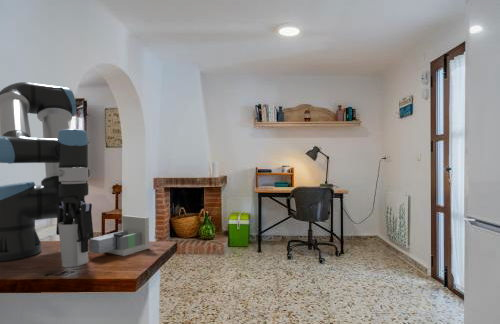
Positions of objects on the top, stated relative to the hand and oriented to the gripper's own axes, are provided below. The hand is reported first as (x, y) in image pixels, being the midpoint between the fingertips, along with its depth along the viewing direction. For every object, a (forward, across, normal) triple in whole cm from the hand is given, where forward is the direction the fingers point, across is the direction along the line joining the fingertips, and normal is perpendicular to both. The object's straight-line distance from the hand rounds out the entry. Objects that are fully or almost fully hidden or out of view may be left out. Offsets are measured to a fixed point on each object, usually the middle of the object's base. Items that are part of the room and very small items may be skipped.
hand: (74, 261), depth 89 cm
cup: (+1, 0, 0) cm, 1 cm away
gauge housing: (+1, 0, +17) cm, 17 cm away
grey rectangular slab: (-1, +1, +10) cm, 10 cm away
